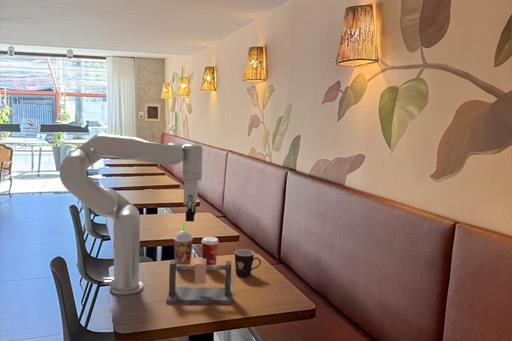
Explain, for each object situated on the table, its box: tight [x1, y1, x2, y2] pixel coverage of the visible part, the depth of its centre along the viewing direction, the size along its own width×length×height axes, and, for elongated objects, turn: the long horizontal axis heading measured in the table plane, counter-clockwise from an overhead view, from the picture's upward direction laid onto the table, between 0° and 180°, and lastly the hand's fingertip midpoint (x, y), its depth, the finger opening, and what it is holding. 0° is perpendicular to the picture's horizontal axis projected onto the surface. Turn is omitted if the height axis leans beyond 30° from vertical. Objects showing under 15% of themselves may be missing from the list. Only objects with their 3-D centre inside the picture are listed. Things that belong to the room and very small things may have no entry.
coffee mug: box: [234, 248, 262, 278], centre depth 188 cm, size 12×9×10 cm
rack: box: [166, 259, 232, 305], centre depth 164 cm, size 24×11×14 cm, turn 95°
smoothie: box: [173, 223, 194, 271], centre depth 192 cm, size 8×8×20 cm
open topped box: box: [194, 258, 207, 284], centre depth 164 cm, size 4×5×8 cm
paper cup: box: [201, 236, 219, 272], centre depth 193 cm, size 8×8×14 cm
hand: (190, 217), depth 171 cm, fingers open, 9 cm apart
